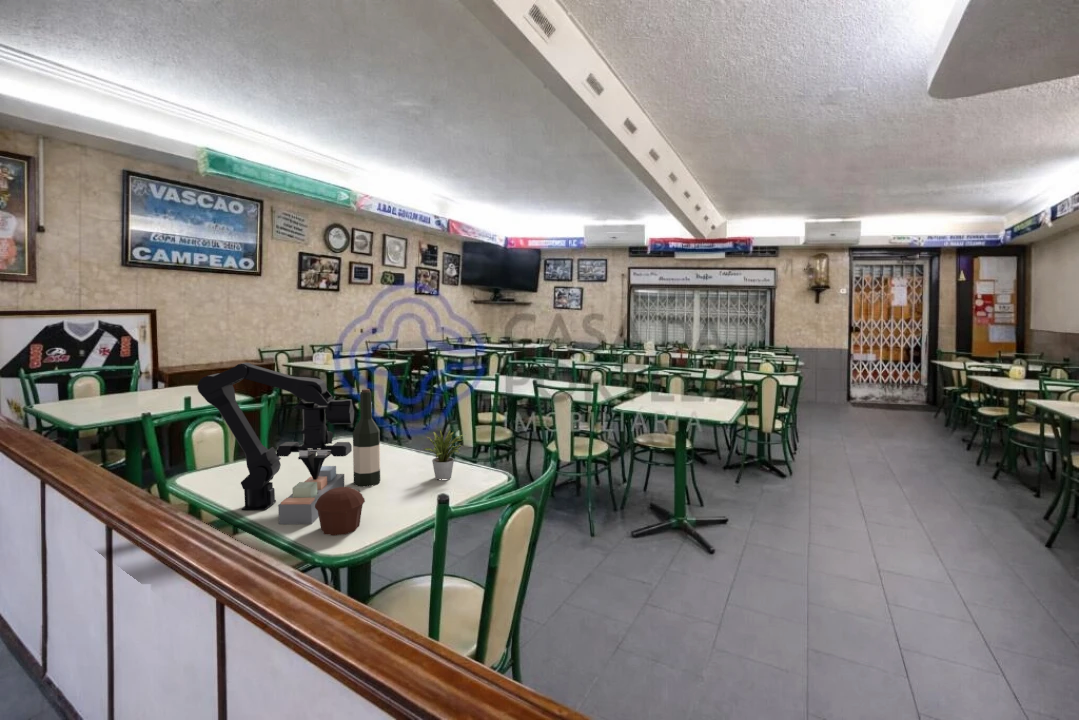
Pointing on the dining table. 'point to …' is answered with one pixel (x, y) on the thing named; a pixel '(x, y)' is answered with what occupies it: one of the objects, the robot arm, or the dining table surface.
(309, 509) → the console
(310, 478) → the terracotta key
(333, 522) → the muffin
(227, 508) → the dining table surface
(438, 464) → the house plant
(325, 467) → the slate key
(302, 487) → the sage key
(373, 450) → the wine bottle
